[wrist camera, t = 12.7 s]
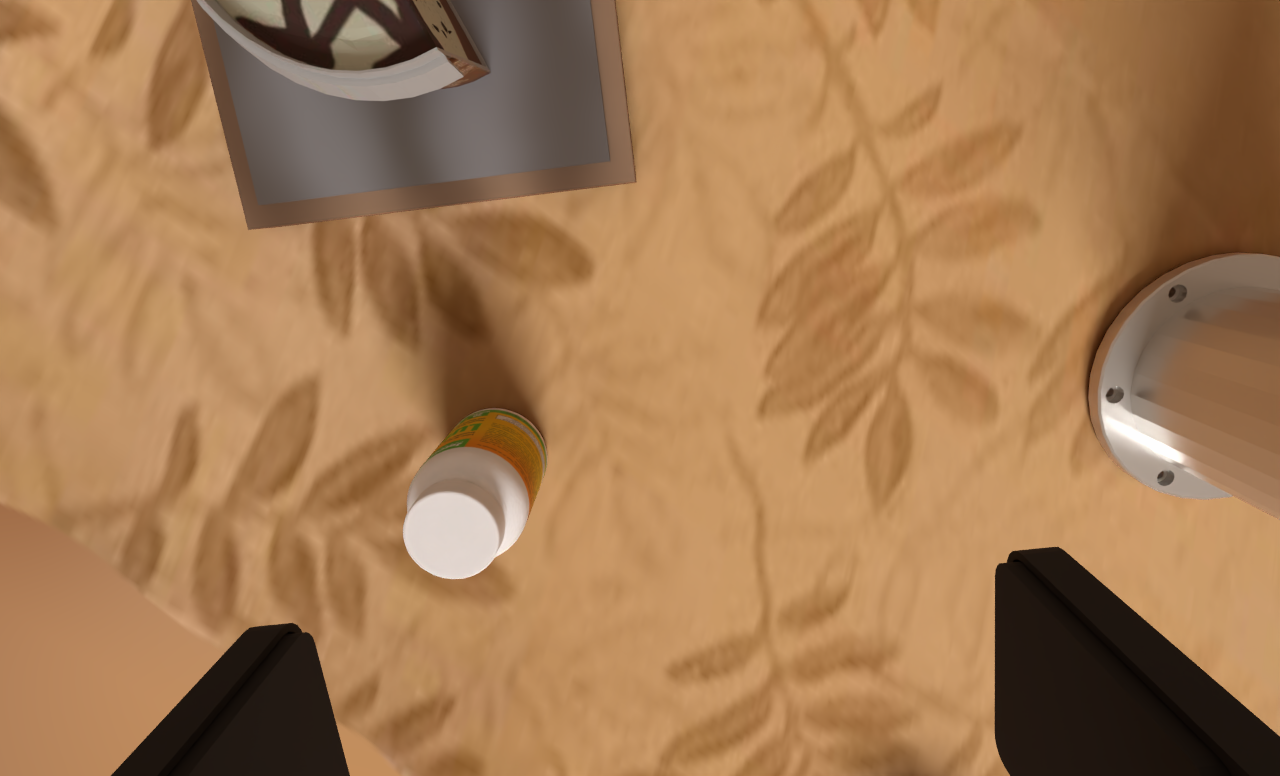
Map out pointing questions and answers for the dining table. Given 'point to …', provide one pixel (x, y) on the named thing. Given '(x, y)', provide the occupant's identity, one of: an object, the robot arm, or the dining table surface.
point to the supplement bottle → (474, 493)
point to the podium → (433, 122)
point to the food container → (356, 44)
